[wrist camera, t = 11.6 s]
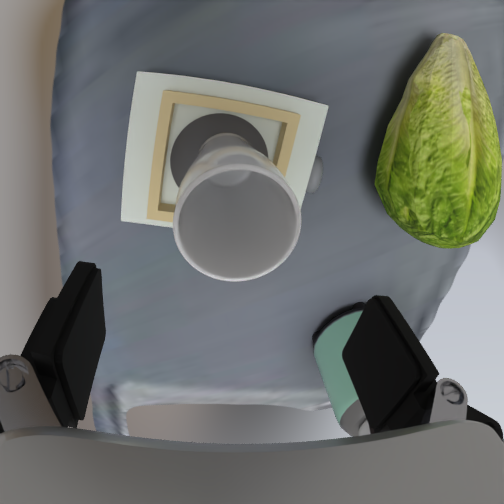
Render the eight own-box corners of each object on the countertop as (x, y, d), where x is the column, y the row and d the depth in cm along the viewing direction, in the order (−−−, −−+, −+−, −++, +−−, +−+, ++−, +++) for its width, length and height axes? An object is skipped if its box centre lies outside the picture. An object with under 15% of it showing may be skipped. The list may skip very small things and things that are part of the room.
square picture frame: (145, 72, 28) (132, 70, 23) (326, 105, 32) (347, 111, 26) (129, 206, 35) (116, 229, 30) (292, 229, 39) (305, 254, 33)
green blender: (402, 331, 51) (495, 503, 21) (341, 374, 54) (404, 550, 24) (351, 268, 43) (485, 513, 12) (276, 326, 46) (338, 574, 16)
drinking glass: (191, 195, 31) (178, 287, 18) (187, 125, 27) (164, 167, 14) (261, 192, 31) (299, 279, 18) (262, 123, 28) (307, 161, 15)
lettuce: (474, 67, 30) (536, 54, 18) (448, 233, 39) (502, 272, 26) (378, 30, 31) (420, -8, 18) (352, 213, 39) (385, 252, 27)
